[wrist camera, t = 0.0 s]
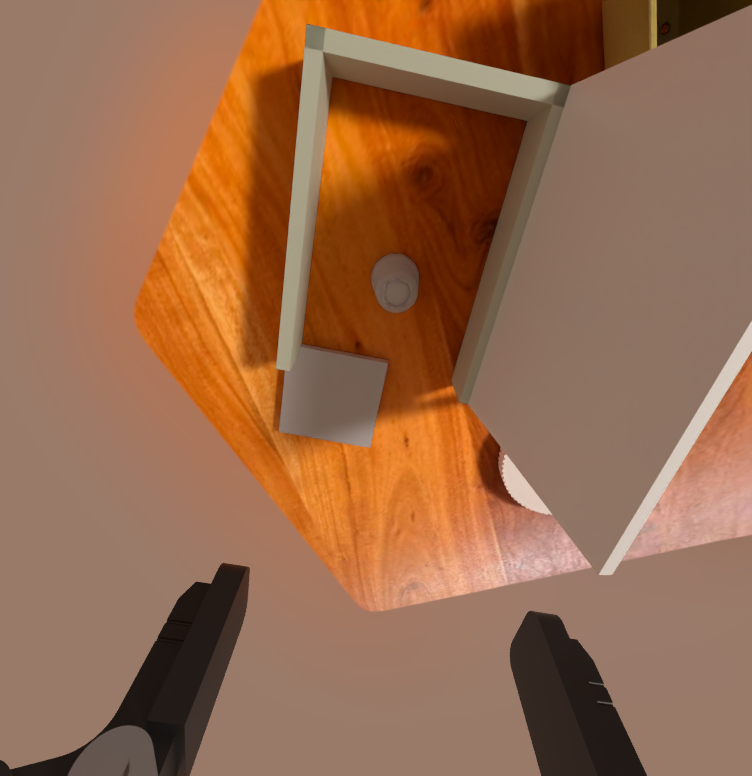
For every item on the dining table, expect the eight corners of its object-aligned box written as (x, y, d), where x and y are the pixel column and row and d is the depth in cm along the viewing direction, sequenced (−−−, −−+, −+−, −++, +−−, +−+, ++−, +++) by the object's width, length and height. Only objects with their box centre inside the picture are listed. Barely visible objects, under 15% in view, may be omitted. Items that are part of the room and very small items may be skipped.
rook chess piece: (421, 298, 36) (430, 318, 29) (375, 305, 37) (372, 328, 29) (415, 248, 35) (423, 257, 27) (366, 257, 35) (361, 268, 28)
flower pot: (580, 128, 31) (652, 97, 22) (569, -11, 27) (649, -109, 19) (699, 88, 29) (820, 39, 21) (703, -64, 26) (849, -192, 18)
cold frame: (319, 54, 29) (277, -47, 18) (624, 124, 31) (764, 71, 19) (289, 350, 39) (250, 405, 28) (521, 393, 40) (574, 462, 29)
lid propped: (570, 85, 26) (895, -145, 9) (626, 98, 26) (1040, -104, 9) (467, 403, 35) (538, 565, 19) (508, 411, 35) (613, 577, 19)
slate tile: (289, 341, 38) (287, 344, 37) (388, 360, 39) (388, 363, 38) (281, 427, 42) (278, 431, 42) (370, 442, 43) (370, 447, 42)
